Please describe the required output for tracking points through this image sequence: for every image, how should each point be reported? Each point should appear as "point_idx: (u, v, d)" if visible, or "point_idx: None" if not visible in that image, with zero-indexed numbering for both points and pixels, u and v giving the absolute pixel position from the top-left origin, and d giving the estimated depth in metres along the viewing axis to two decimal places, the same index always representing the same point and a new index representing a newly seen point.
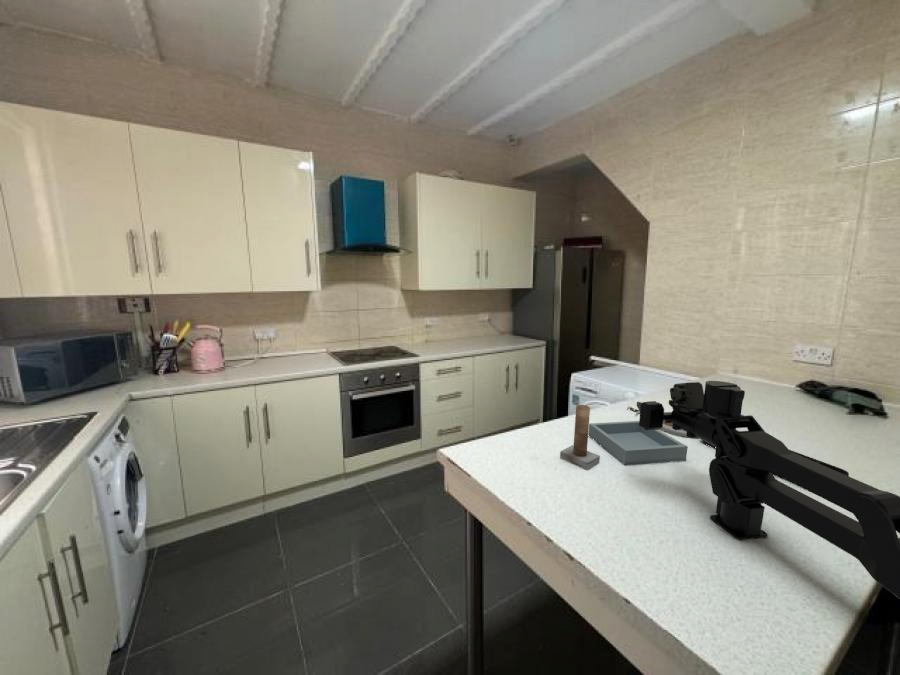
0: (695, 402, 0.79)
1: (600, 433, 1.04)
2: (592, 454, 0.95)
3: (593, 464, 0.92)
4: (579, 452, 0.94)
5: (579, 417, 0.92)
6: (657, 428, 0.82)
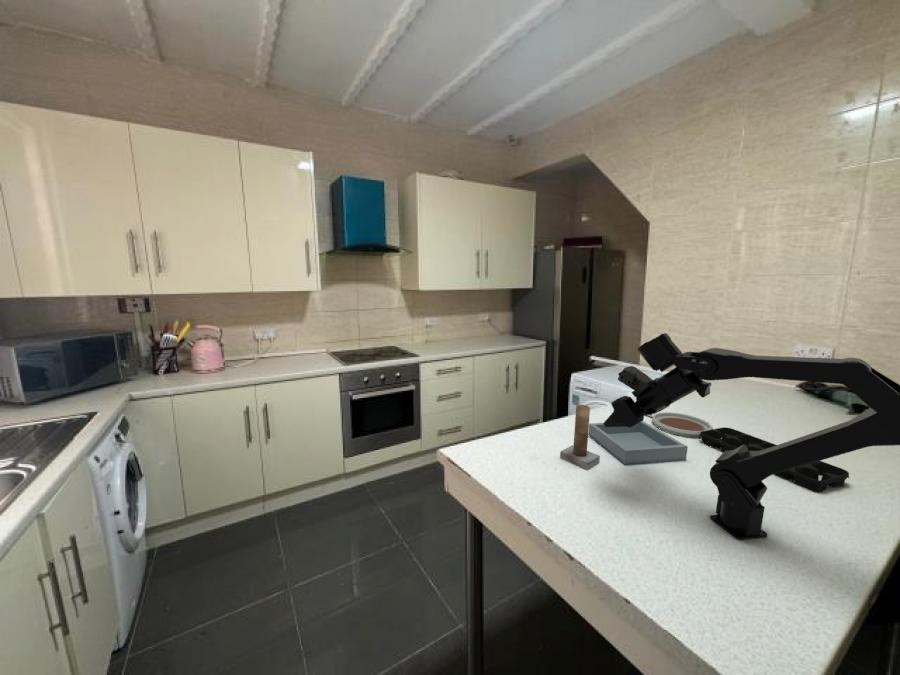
0: (644, 378, 0.81)
1: (600, 433, 1.04)
2: (592, 454, 0.95)
3: (593, 464, 0.92)
4: (579, 452, 0.94)
5: (579, 417, 0.92)
6: (641, 418, 0.76)
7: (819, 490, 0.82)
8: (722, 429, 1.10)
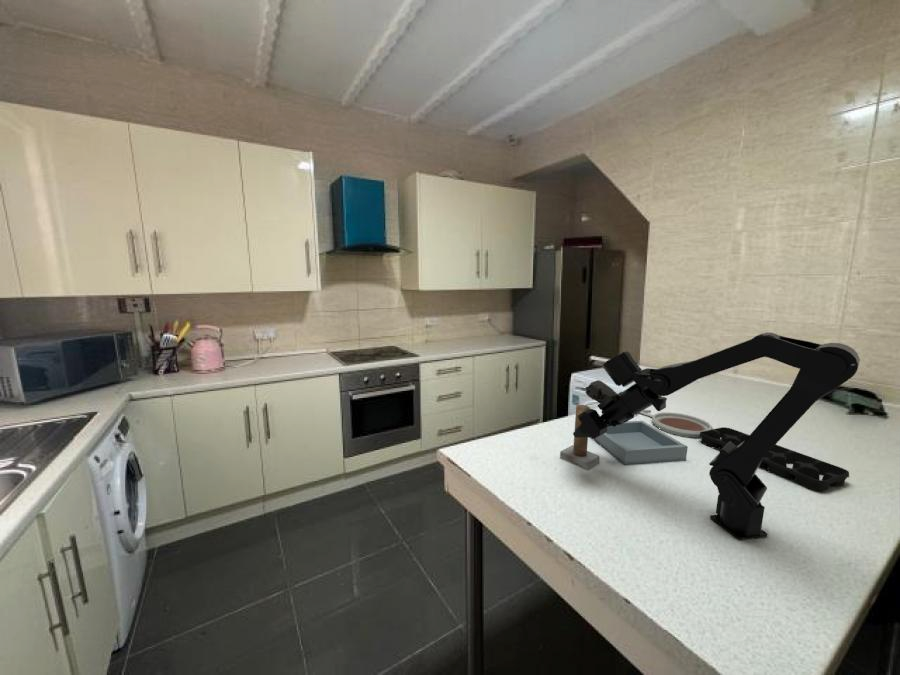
0: (609, 392, 0.87)
1: None
2: (592, 454, 0.95)
3: (593, 464, 0.92)
4: (579, 452, 0.94)
5: None
6: (605, 429, 0.82)
7: (821, 490, 0.82)
8: (721, 429, 1.10)
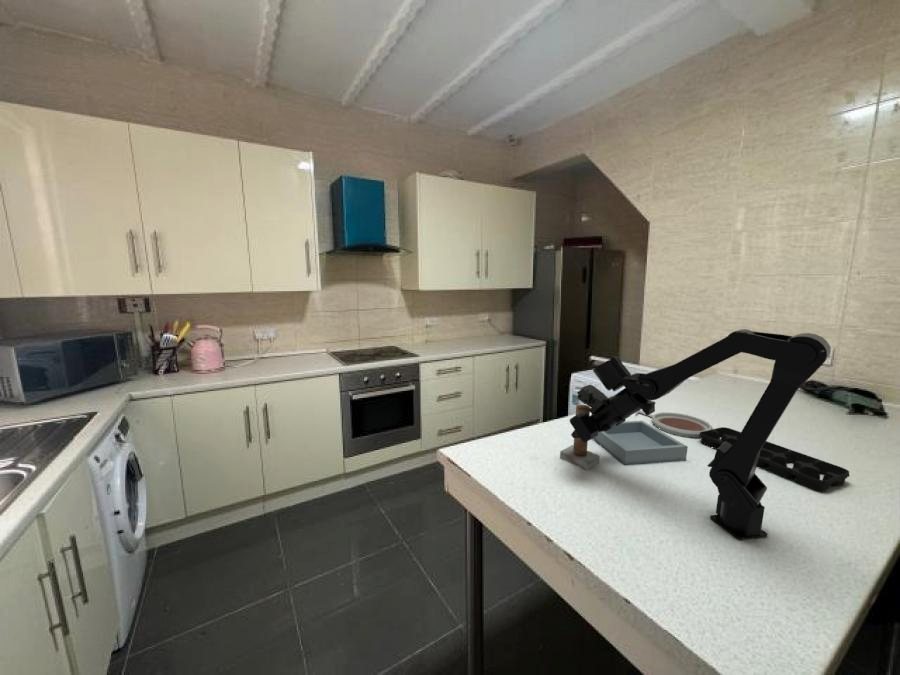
0: (600, 396, 0.89)
1: (600, 433, 1.04)
2: (592, 454, 0.95)
3: (593, 464, 0.92)
4: (579, 452, 0.94)
5: None
6: (596, 433, 0.84)
7: (822, 490, 0.82)
8: (720, 429, 1.10)
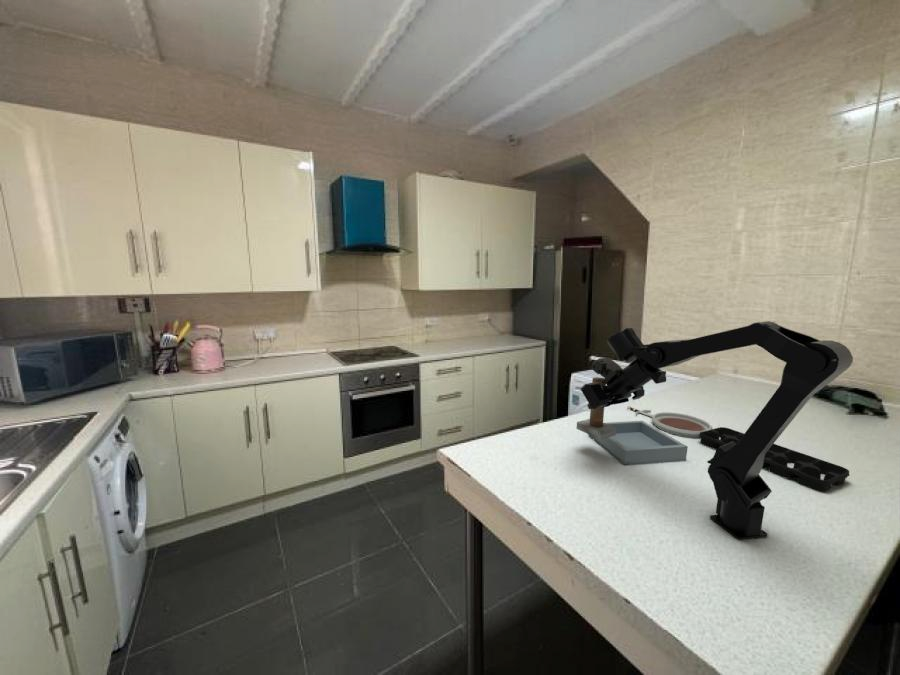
0: (614, 368, 0.91)
1: None
2: (608, 426, 0.97)
3: (608, 435, 0.94)
4: (594, 423, 0.96)
5: None
6: (605, 401, 0.87)
7: (824, 490, 0.82)
8: (719, 429, 1.10)
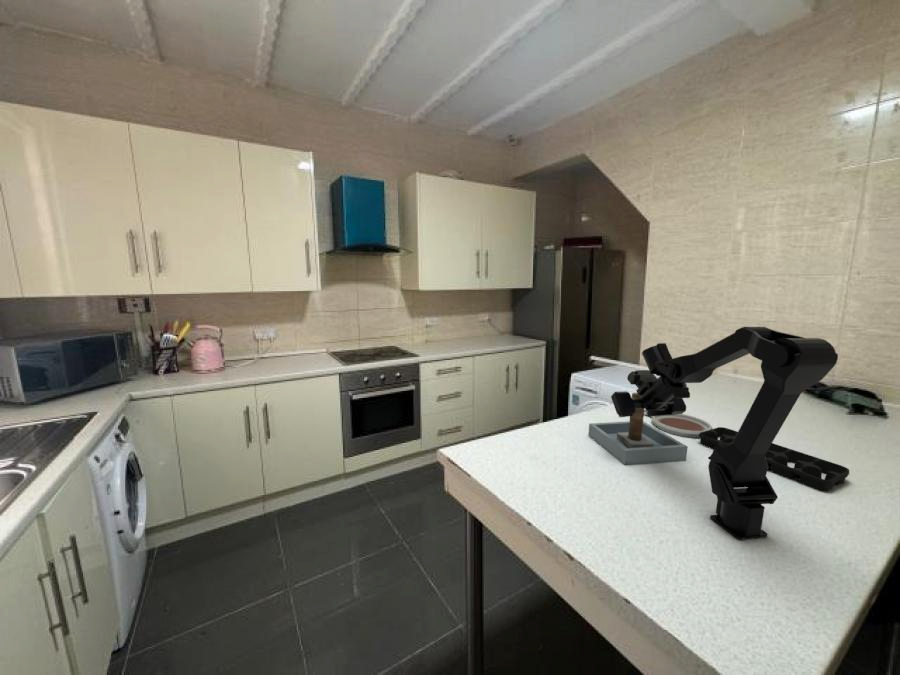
0: (650, 380, 0.96)
1: (600, 433, 1.04)
2: (646, 441, 1.01)
3: None
4: (631, 436, 1.02)
5: None
6: (631, 409, 0.93)
7: (826, 489, 0.82)
8: (717, 429, 1.10)
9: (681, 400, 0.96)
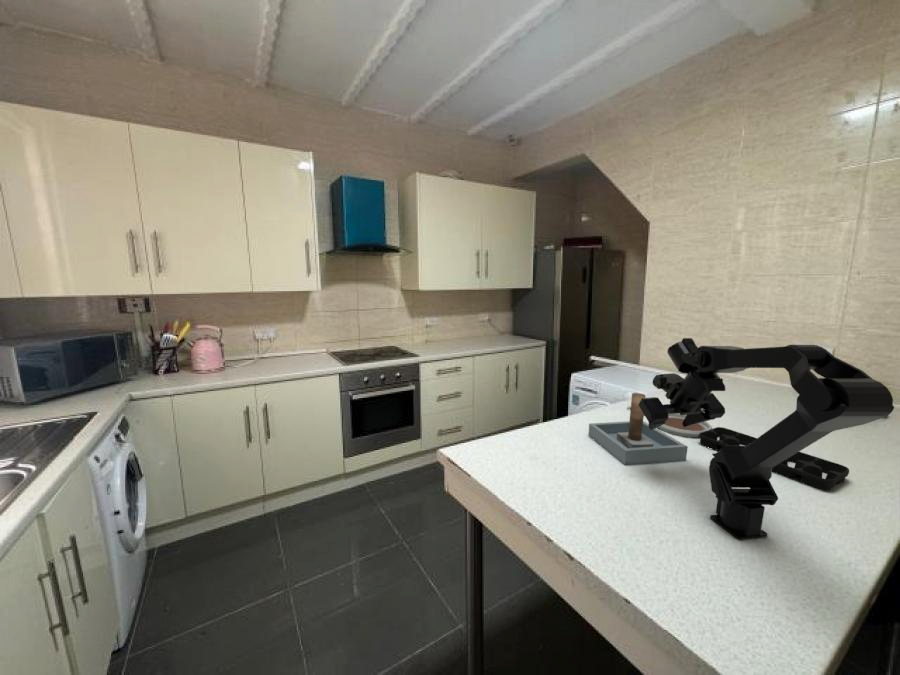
0: (678, 382, 0.87)
1: (600, 433, 1.04)
2: (646, 441, 1.01)
3: None
4: (631, 436, 1.02)
5: (632, 403, 1.01)
6: (664, 415, 0.84)
7: (828, 489, 0.82)
8: (716, 429, 1.10)
9: (717, 401, 0.86)
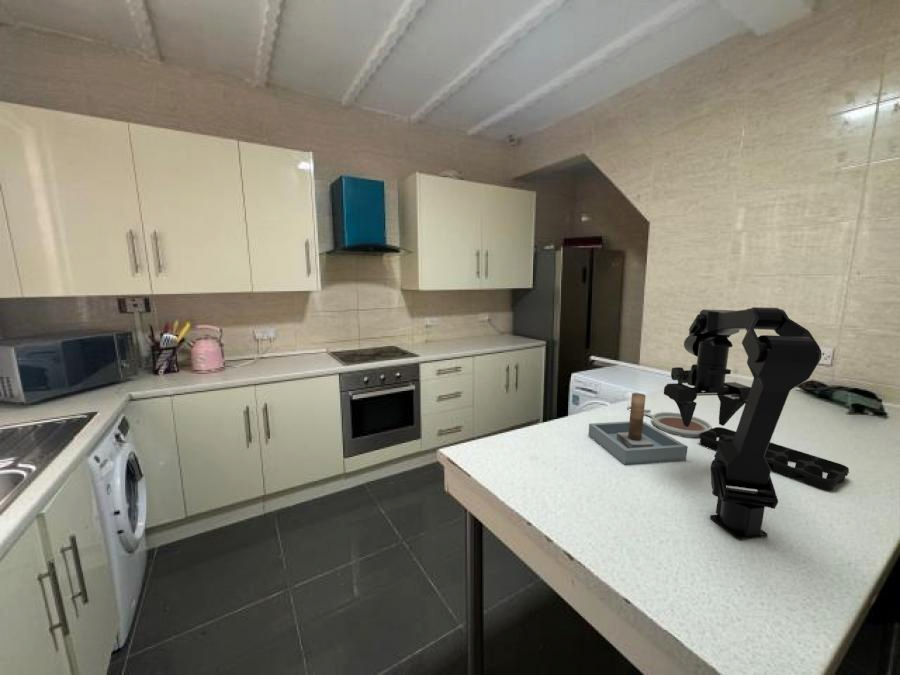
0: None
1: (600, 433, 1.04)
2: (646, 441, 1.01)
3: None
4: (631, 436, 1.02)
5: (632, 403, 1.01)
6: (691, 390, 0.82)
7: (830, 489, 0.82)
8: (715, 429, 1.10)
9: (742, 385, 0.85)
